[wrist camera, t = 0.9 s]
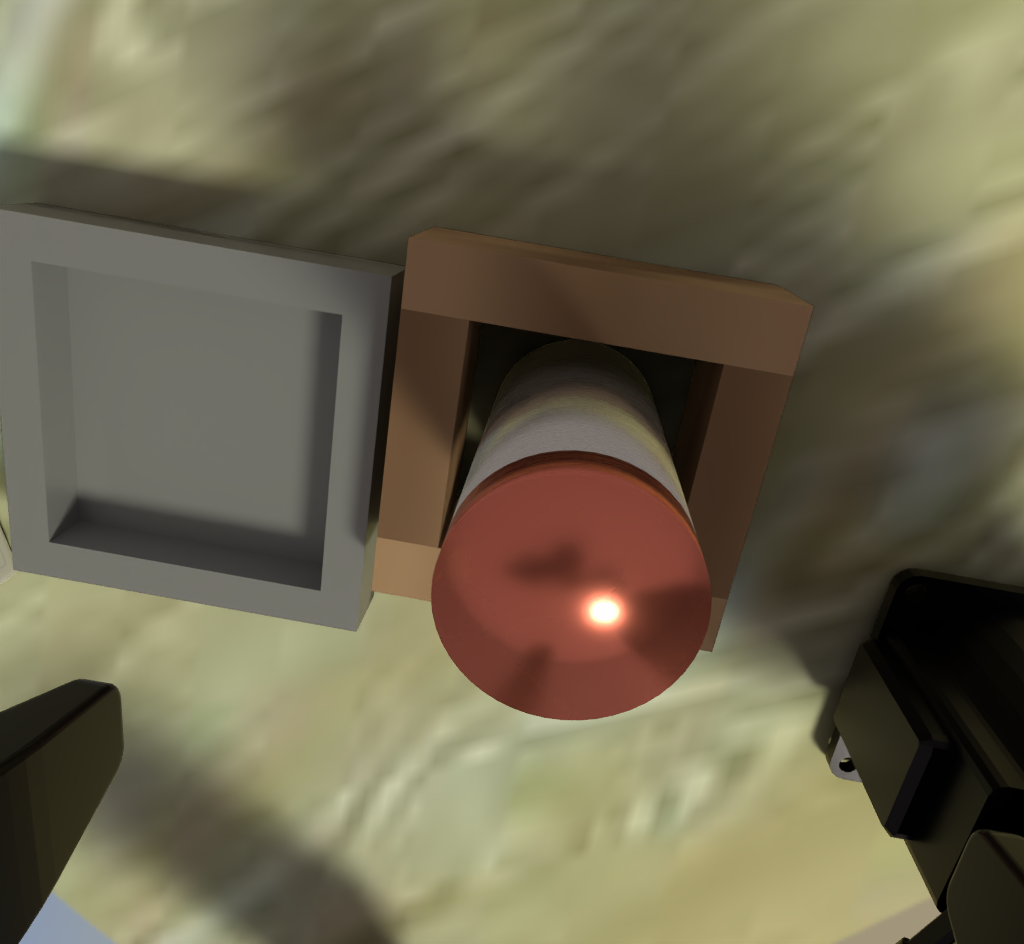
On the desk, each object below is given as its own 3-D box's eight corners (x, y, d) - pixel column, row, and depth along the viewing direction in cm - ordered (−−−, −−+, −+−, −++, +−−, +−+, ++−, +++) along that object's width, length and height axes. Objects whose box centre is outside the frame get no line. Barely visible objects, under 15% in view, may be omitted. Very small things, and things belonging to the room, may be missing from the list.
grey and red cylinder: (671, 355, 19) (744, 503, 11) (636, 506, 20) (675, 741, 12) (506, 326, 19) (450, 451, 11) (482, 479, 21) (416, 693, 12)
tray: (408, 266, 19) (391, 276, 17) (373, 596, 22) (356, 631, 20) (35, 202, 19) (-17, 206, 17) (56, 539, 22) (13, 569, 20)
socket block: (778, 285, 18) (813, 306, 15) (694, 587, 21) (712, 652, 18) (434, 226, 18) (408, 237, 16) (398, 535, 21) (371, 590, 18)
